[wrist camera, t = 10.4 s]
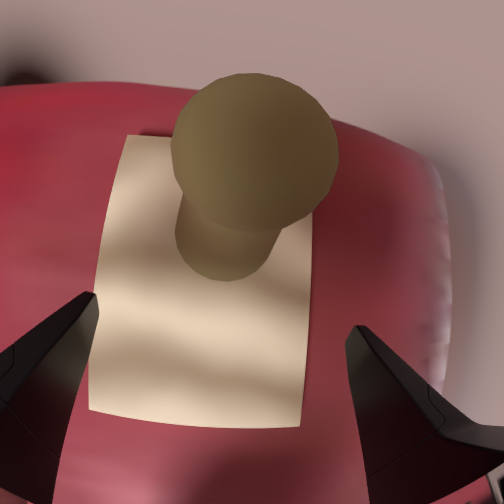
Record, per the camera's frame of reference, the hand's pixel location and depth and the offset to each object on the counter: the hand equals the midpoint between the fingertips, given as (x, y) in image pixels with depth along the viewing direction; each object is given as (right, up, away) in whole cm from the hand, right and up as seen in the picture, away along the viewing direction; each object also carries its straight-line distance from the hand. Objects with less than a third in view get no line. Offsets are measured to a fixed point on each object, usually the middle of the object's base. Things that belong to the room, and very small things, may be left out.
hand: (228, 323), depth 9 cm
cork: (-1, +4, +9) cm, 9 cm away
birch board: (-2, +1, +9) cm, 9 cm away
